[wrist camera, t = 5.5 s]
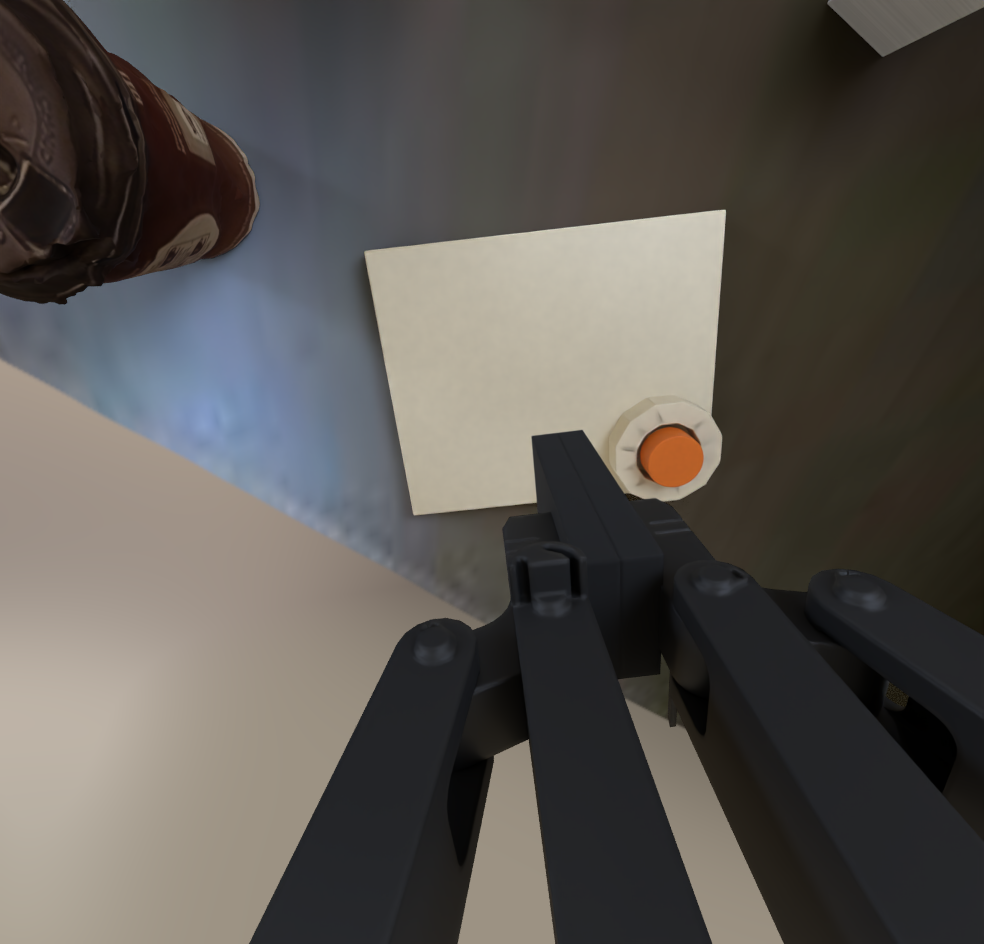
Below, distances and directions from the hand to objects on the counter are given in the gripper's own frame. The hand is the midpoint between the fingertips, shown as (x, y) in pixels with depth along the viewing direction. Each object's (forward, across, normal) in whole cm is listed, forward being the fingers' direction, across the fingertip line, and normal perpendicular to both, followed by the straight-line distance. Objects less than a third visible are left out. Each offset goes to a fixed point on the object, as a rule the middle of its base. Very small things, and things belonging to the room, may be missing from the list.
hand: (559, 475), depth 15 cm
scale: (+15, -2, +1) cm, 15 cm away
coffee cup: (+16, +15, -10) cm, 24 cm away
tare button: (+12, -8, +5) cm, 15 cm away
